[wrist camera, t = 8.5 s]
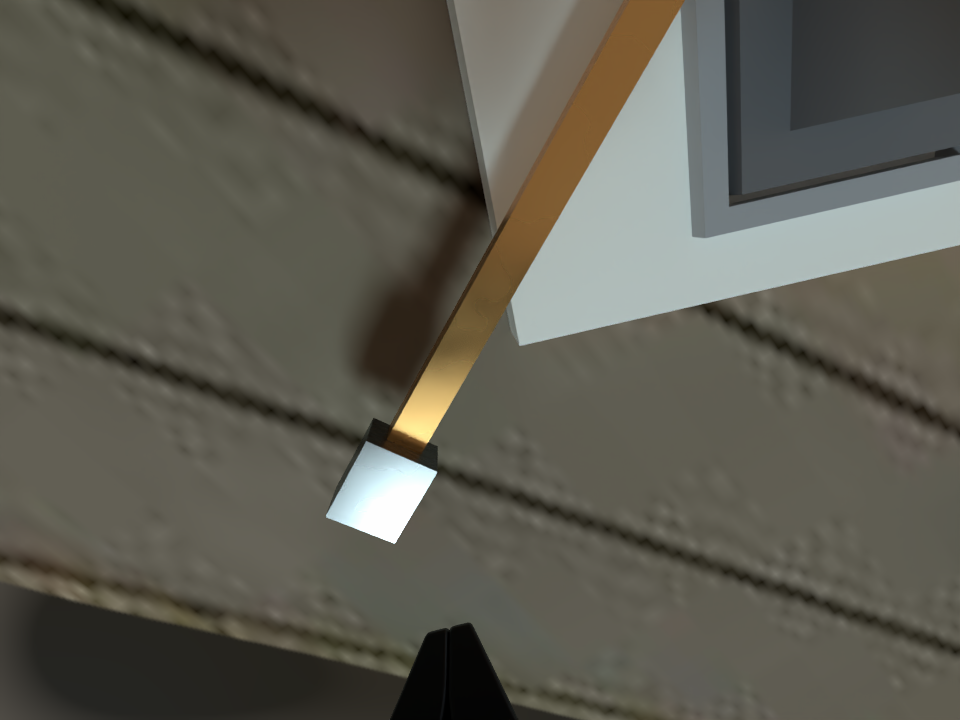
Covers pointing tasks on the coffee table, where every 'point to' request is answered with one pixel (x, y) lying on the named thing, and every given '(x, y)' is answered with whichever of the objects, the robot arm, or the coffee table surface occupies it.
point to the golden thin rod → (496, 280)
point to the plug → (837, 86)
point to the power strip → (667, 176)
